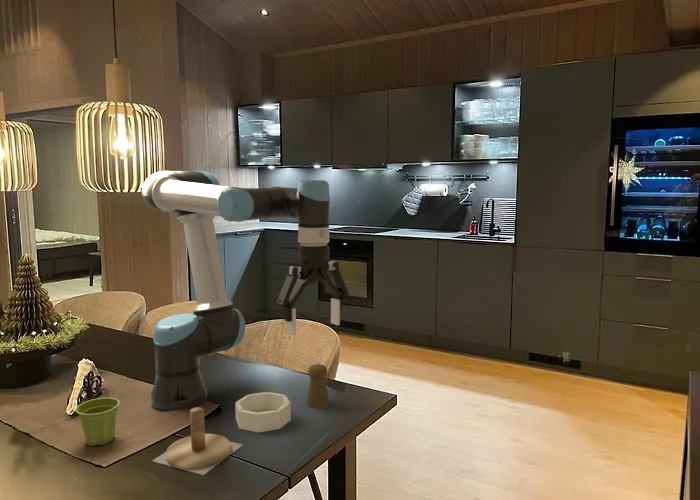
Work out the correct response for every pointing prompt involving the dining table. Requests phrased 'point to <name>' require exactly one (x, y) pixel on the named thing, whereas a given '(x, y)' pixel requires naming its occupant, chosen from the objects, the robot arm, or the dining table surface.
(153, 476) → the dining table surface
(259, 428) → the bowl
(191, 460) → the lid
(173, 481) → the dining table surface
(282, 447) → the dining table surface
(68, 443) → the dining table surface
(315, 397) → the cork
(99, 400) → the plant pot
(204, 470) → the mat
